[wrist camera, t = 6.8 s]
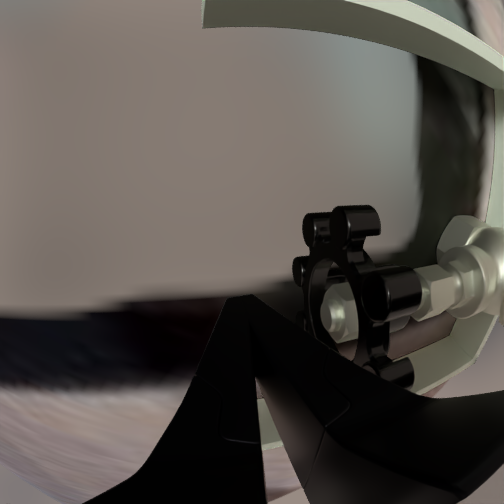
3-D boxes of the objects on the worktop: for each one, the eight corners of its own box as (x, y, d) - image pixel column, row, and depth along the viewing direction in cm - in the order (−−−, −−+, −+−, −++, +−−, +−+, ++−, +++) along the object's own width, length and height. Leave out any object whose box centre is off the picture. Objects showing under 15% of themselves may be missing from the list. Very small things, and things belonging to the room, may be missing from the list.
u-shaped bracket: (452, 339, 17) (474, 363, 14) (243, 409, 15) (253, 452, 12) (498, 80, 9) (536, 85, 6) (201, 9, 6) (206, -35, 4)
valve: (484, 187, 12) (294, 180, 10) (573, 232, 6) (432, 271, 4) (459, 287, 14) (287, 329, 12) (526, 347, 8) (346, 457, 6)
